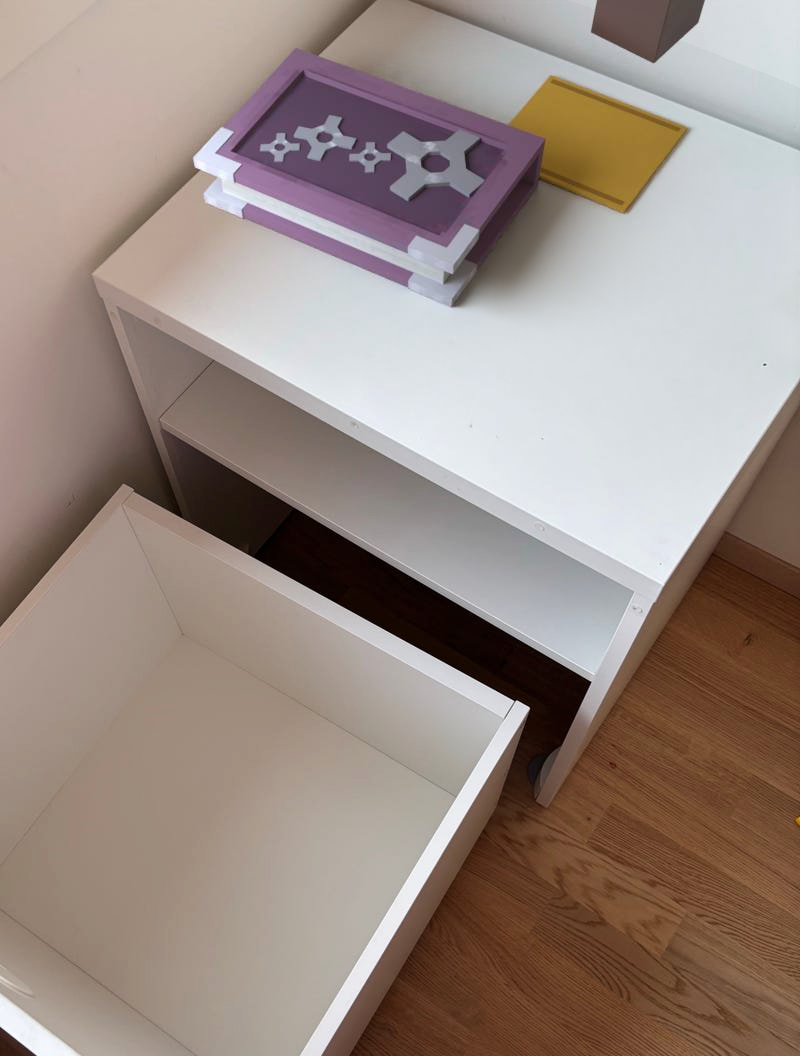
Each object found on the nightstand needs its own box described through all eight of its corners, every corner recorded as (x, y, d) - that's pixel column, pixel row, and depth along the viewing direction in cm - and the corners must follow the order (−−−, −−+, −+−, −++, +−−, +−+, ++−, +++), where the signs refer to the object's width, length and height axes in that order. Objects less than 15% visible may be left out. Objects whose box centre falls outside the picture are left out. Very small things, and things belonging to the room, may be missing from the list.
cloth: (686, 130, 90) (687, 126, 90) (623, 213, 86) (624, 210, 86) (550, 77, 94) (550, 74, 94) (484, 155, 90) (484, 152, 90)
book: (202, 204, 90) (193, 157, 85) (298, 96, 95) (294, 46, 90) (449, 310, 83) (453, 265, 79) (538, 187, 88) (547, 138, 84)
